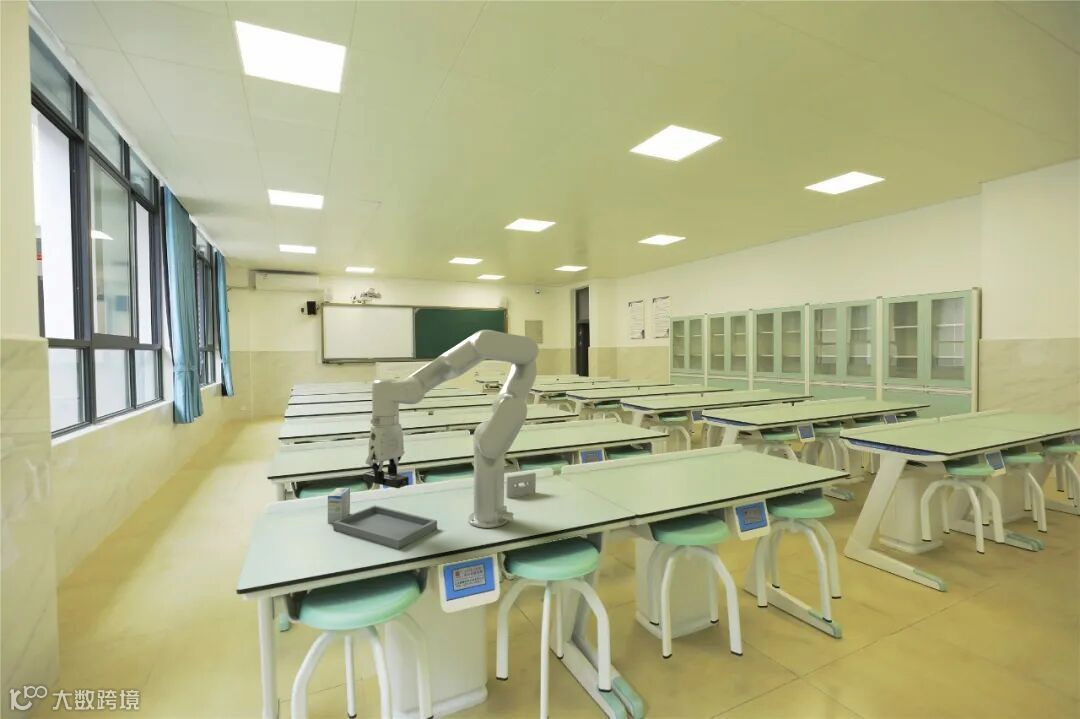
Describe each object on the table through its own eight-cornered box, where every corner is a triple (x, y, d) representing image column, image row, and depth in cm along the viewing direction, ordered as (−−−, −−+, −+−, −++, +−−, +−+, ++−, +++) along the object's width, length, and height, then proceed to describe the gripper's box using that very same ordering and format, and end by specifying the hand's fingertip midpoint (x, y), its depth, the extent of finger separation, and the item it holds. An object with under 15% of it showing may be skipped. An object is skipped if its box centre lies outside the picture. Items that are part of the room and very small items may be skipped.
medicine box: (336, 513, 152) (336, 487, 151) (350, 513, 152) (350, 487, 152) (327, 523, 144) (327, 495, 144) (342, 523, 144) (342, 495, 144)
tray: (437, 528, 141) (437, 520, 141) (398, 549, 127) (398, 540, 127) (374, 512, 153) (374, 505, 153) (333, 530, 139) (333, 521, 139)
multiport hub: (375, 476, 145) (374, 469, 145) (409, 484, 138) (409, 476, 138) (363, 480, 141) (363, 473, 141) (398, 488, 134) (398, 480, 134)
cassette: (507, 498, 169) (507, 477, 169) (505, 497, 171) (505, 476, 170) (536, 493, 175) (536, 473, 175) (533, 492, 177) (534, 472, 176)
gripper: (372, 426, 129) (372, 491, 130) (415, 417, 144) (415, 475, 145) (353, 423, 133) (354, 487, 134) (397, 415, 148) (397, 472, 149)
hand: (385, 480), depth 140 cm, fingers closed on multiport hub, 4 cm apart
